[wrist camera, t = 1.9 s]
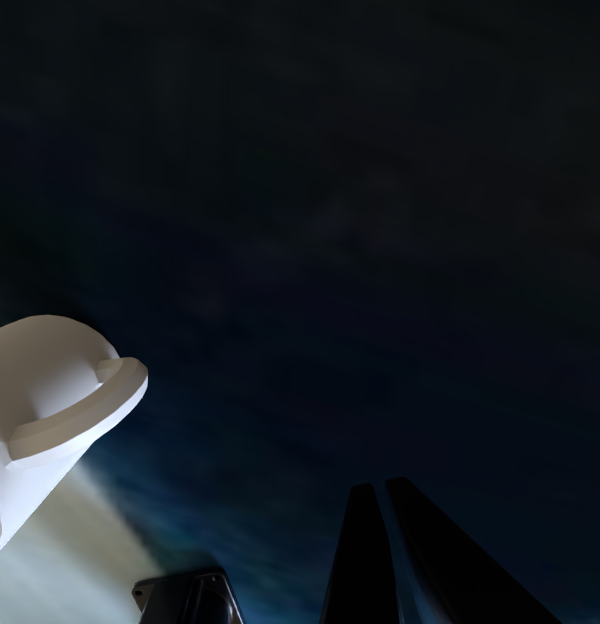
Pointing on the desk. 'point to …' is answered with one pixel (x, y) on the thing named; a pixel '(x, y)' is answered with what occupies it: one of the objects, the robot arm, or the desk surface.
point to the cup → (55, 406)
